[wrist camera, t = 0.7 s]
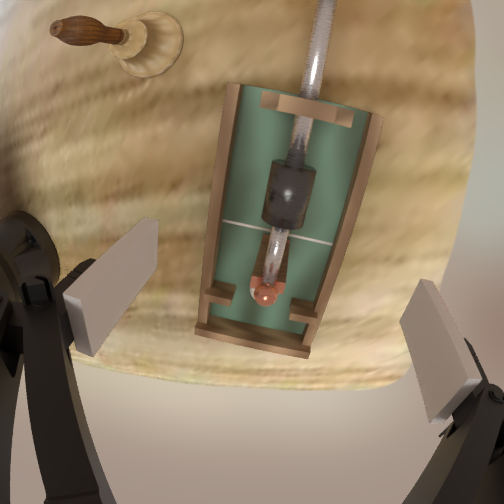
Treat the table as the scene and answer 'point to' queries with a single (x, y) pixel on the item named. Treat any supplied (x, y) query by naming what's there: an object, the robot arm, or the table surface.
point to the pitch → (253, 227)
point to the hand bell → (129, 40)
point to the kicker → (292, 172)
